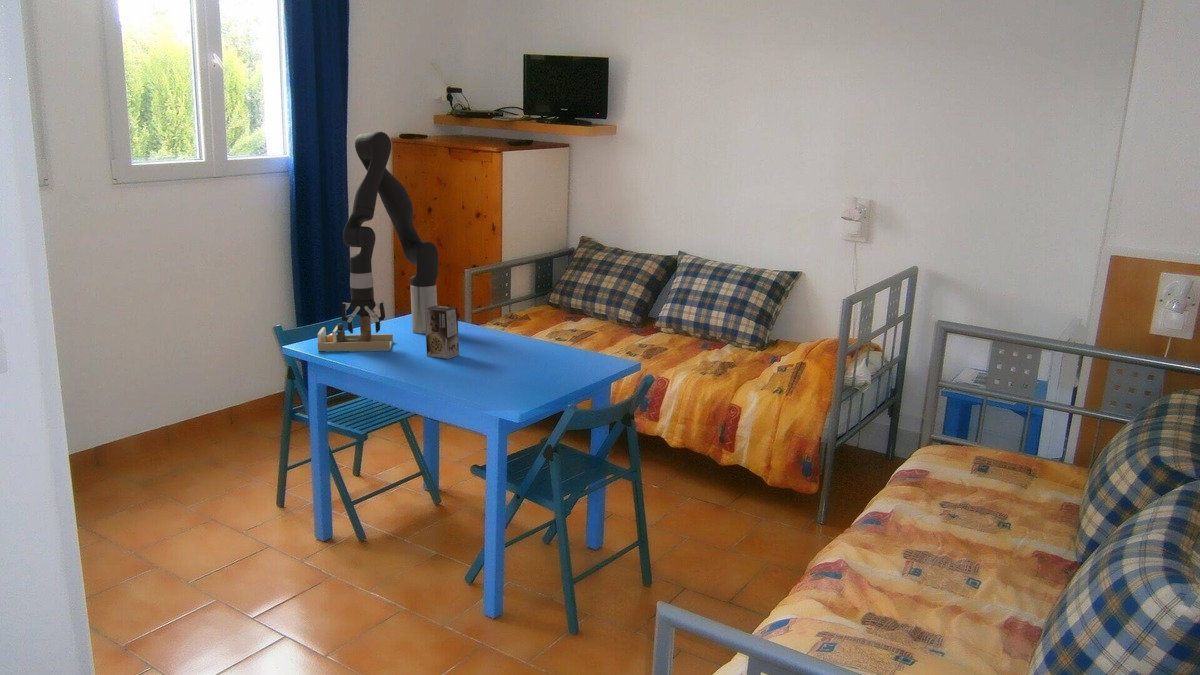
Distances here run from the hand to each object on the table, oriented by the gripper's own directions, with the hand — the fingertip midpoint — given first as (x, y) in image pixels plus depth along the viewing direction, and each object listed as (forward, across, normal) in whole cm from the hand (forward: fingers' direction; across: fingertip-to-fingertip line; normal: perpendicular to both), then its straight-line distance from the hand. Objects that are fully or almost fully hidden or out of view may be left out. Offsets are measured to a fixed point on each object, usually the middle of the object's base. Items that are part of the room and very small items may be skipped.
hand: (364, 332), depth 318 cm
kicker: (+4, +3, 0) cm, 5 cm away
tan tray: (+5, +3, 0) cm, 6 cm away
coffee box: (+5, -27, +14) cm, 31 cm away
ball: (+2, +11, 0) cm, 11 cm away
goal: (+5, +12, 0) cm, 13 cm away
